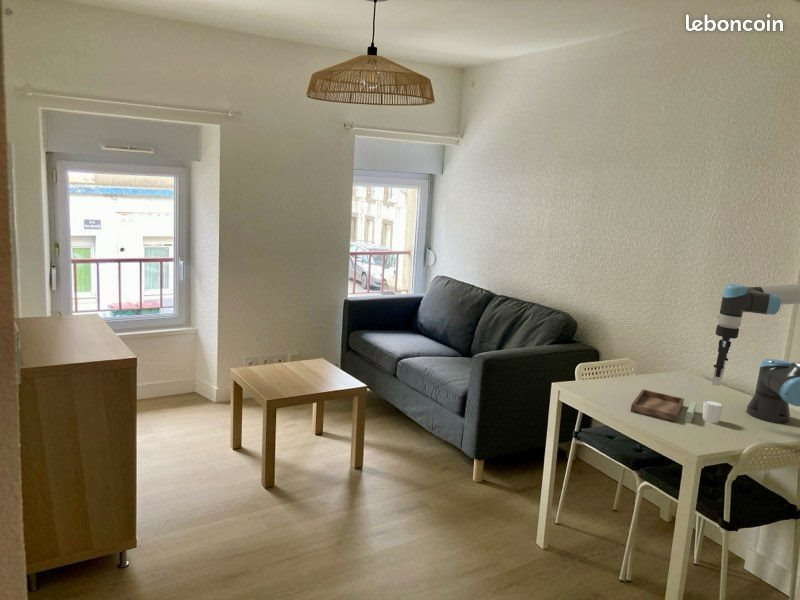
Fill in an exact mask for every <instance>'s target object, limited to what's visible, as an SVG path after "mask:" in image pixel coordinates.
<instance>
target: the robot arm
mask: <svg viewBox="0 0 800 600" xmlns="http://www.w3.org/2000/svg"><path fill="white" fill-rule="evenodd" d="M723 289H724V290H723V293H722V298H721V303H720V309H719V314H718V315H717V316H716V318H718V319H717V325H716V328H715V335H716V336H719V337H722V339H719V340H718V347H717V352H718V354H717V358H716V364H713V368H714V373H713V377H712V382H711V385H713V386H718V387H721V383H722V379H723V378H724V373H725V368H726V362H728V360H729V358H728V356H727V355H728V353H729V351H730V348H731V345H732V341H730V340H731V339H735V340H736V339H737V338H738V337H739V332H740V327H741V322H742V319H743V313H754V314H760V315H761V314H762V315H773V316H774V315H776V314H777V313H778V312H779V311H780V309H781V306H782V305H783V306H784V305H797V304H798V305H800V283H795V284H793V283H792V284H781V285H777V284H776V285H765V286H745V285H741V284H735V283H728V284H726V285H725V286H724V288H723ZM789 405H792V406H795V407H800V360H799V361H793V362H792V361H788V360H782V359H773V358H763V359H762V360H761V363H760V365H759V371H758V377H757V381H756V387H755V391H754V395H753V396H752V398H751V399H750V401H749V403H748V404H747V406H746V409H745V412H746V413H747V414H748V415H749V416H752V417H754V418H756V419H759V420H762V421H765V422H766V421H767V422H771V423H778V424H779V423H780V424H785V423H789V422H790V420H791V411H790V406H789Z"/></svg>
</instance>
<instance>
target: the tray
mask: <svg viewBox="0 0 800 600" xmlns="http://www.w3.org/2000/svg"><path fill="white" fill-rule="evenodd" d="M684 401H685V398H682V397H679V396H674V395H669V394H665V393H661V392H656V391H651V390H647V389H644V388H642V389H641V391H640V392H639V393H638V395H637V396H636V397H635V399H634V400H633V402H632V403H631V406H630V412H631V413H635V414H638V415H642V416H646V417H651V418H655V419H659V420H663V421H668V422H671V423H676V421H677V419H678V417H679V415H680V412H681V411H682V409H683V406H684Z"/></svg>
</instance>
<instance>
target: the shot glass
mask: <svg viewBox="0 0 800 600" xmlns="http://www.w3.org/2000/svg"><path fill="white" fill-rule="evenodd" d="M723 409H724V404H723V403H721V402H718V401H715V400H707V399H706V400H704V401H703V406H702V417H701V419H702V421H704V422H706V423H710V424H718V423H719V421H720V418H721V414H722V412H723Z"/></svg>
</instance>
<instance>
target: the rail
mask: <svg viewBox="0 0 800 600" xmlns="http://www.w3.org/2000/svg"><path fill="white" fill-rule="evenodd" d="M697 404H698V403H697V401H694V400H690V403H689V405H688V408H687V409H686V414H685V418H684V422H686V423H688V424H692V420H693V418H694V416H695V413H696V410H697Z"/></svg>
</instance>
